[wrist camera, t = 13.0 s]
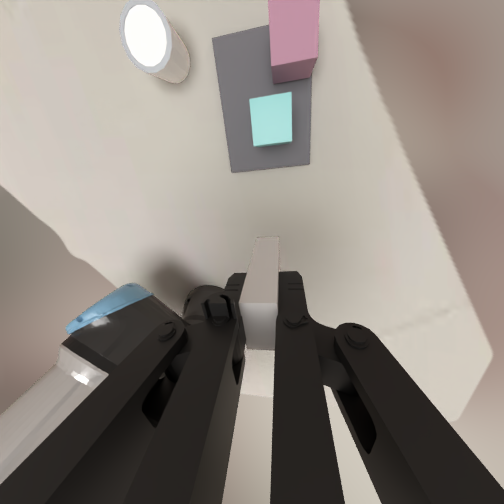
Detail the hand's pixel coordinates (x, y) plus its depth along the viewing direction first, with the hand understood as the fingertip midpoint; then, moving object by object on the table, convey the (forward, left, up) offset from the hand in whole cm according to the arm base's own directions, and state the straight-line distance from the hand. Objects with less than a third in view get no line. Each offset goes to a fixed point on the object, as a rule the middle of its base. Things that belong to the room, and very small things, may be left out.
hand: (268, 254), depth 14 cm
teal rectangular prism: (0, +10, -24) cm, 26 cm away
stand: (-1, +13, -26) cm, 29 cm away
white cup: (-15, +21, -27) cm, 37 cm away
